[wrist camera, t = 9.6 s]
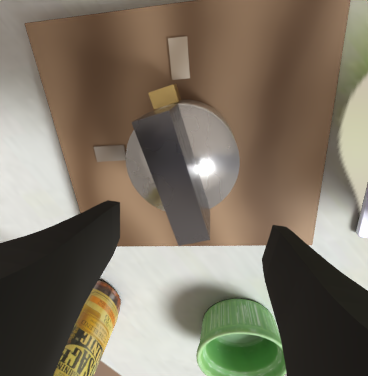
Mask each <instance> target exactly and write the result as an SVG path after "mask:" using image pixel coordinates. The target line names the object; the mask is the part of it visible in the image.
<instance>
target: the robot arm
mask: <svg viewBox="0 0 368 376" xmlns="http://www.w3.org/2000/svg"><path fill="white" fill-rule="evenodd" d="M356 233H357V235H358V236H359V237H362V238H368V184H367V188H366V193H365V196H364V201H363V205H362V209H361V213H360V217H359V221H358V226H357V230H356ZM119 239H120V202H116V201H109V200H107V201H105V202H102V203H100V204H98V205H96V206H94V207H92V208H90V209H88V210H86V211H84V212H82V213H80V214H78V215H76V216H74V217H72V218H70V219H68V220H65V221H63V222H61V223H59V224H56V225H54V226H52V227H49V228H47V229H44V230H41V231H39V232H36V233H33V234H30V235H27V236H24V237H21V238H17V239H13V240H10V241H6V242H3V243H0V376H53V375H54V373H55V370H56V368H57V366H58V363H59V361H60V358H61V356H62V353H63V351H64V349H65V346H66V344H67V342H68V339H69V337H70V335H71V333H72V330H73V328H74V326H75V324H76V321H77V319H78V317H79V315H80V313H81V311H82V308H83V306H84V304H85V302H86V300H87V299H88V297H89V295H90V293H91V291H92V290H93V288H94V286H95V285H96V283H97V281H98V280H99V278H100V276H101V275H102V273H103V271H104V270H105V268H106V266H107V264H108V263H109V261H110V259H111V258H112V256H113V254H114V251H115V249H116V247H117V244H118V242H119ZM262 264H263V272H264V278H265V283H266V286H267V290H268V294H269V297H270V301H271V304H272V308H273V311H274V315H275V318H276V322H277V325H278V329H279V334H280V338H281V343H282V349H283V355H284V360H285V367H286V373H287V376H368V291H367V290H366V289H364V288H363V287H361V286H360V285H358V284H357V283H356V282H354V281H353V280H351V279H350V278H348V277H347V276H346V275H344V274H343V273H341V272H340V271H339V270H338V269H336V268H335V267H334V266H332V265H331V264H330V263H329V262H327V261H326V260H325V259H324V258H323V257H321V256H320V255H319V254H318V253H317V252H315V251H314V250H313V249H312V248H311V247H310V246H309V245H307V244H306V243H305V242H304V241H303V240H302V239H301V238H299V237H298V236H297V235H296V234H295V233H294V232H292V231H291V230H290V229H289V228H287V227H285V226H278V225H273V226H272V229H271V232H270V236H269V239H268V242H267V245H266V248H265V252H264V255H263V258H262Z"/></svg>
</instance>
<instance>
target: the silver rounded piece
mask: <svg viewBox="0 0 368 376" xmlns="http://www.w3.org/2000/svg"><path fill="white" fill-rule="evenodd" d="M148 94H149V97H150V100H151V103H152V106H153V109H157V108H159V109H157V110H155V111H152V112H149V113H147V114H145V115H143V116H141V117H140V118H138V119H136V120H134V121H133V122H131V123H132V125H133V128H134V130H133V132H132V134H131V136H130V138H129V141H128V144H127V149H126V167H127V172H128V175H129V178H130V180H131V182H132V184H133V186H134V187H135V189H136V190H137V192H138V193H139V194H140V195H141V196H142V197H143V198H144V199H145V200H146V201H147V202H149V203H150V204H151V205H153V206H155V207H156V208H158V209H161V210H163V211H165V212H166V214H167V217H168V220H169V222H170V225H171V227H172V230H173V233H174V235H175V238H176V241H177V243H178V246H181V245H186V244H191V243H197V242H202V241H207V240H210V209H211V208H212V207H214V206H216V205H217V204H219V203H220V202H221V201H222V200H223V199H224V198H225V197H226V196H227V195H228V194H229V193H230V191H231V190H232V188H233V186H234V184H235V182H236V180H237V176H238V173H239V166H240V158H239V151H238V147H237V144H236V141H235V138H234V136H233V133H232V131H231V128H230V126H229V124H228V123H227V121H226V120H225V118H224V117H223V116H222V115H221V114H220V113H219V112H218V111H217V110H216V109H214V108H213V107H211V106H209V105H207V104H205V103H202V102H199V101H195V100H181V98H180V95H179V92H178V88H177V85H176V84H173V85H170V86H167V87H164V88H161V89H158V90H155V91H152V92H149V93H148Z"/></svg>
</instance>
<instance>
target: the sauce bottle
mask: <svg viewBox="0 0 368 376" xmlns="http://www.w3.org/2000/svg"><path fill="white" fill-rule="evenodd" d="M120 304H121V300H120V298H119V295H118V294H117V292H116V291H115V290H114V289H113V288H112V287H110V286H109V284H107V283H106V282H103V281H97V283H96V285H95V286H94V288H93V290H92V291H91V293H90V295H89V297H88V299H87V300H86V302H85V304H84V306H83V308H82V311H81V313H80V315H79V317H78V319H77V321H76V324H75V326H74V328H73V330H72V333H71V335H70V337H69V339H68V342H67V344H66V346H65V349H64V351H63V353H62V356H61V358H60V361H59V363H58V366H57V368H56V370H55V373H54V375H53V376H94V373H95V371H96V369H97V366H98V364H99V362H100V360H101V357H102V355H103V352H104V350H105V347H106V345H107V343H108V340H109V338H110V335H111V333H112V331H113V328H114V326H115V323H116V321H117V318H118V313H119V310H120Z"/></svg>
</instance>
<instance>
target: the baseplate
mask: <svg viewBox="0 0 368 376" xmlns="http://www.w3.org/2000/svg"><path fill="white" fill-rule="evenodd" d="M349 6H350V0H195V1H188V2H180V3H173V4H165V5H158V6H150V7H143V8H135V9H128V10H121V11H113V12H106V13H98V14H91V15H83V16H76V17H68V18H61V19H53V20H46V21H39V22H31V23H24V24H25V27H26V30H27V34H28V37H29V40H30V44H31V47H32V51H33V54H34V57H35V61H36V64H37V67H38V71H39V74H40V78H41V81H42V84H43V88H44V91H45V94H46V98H47V101H48V105H49V108H50V111H51V115H52V118H53V121H54V125H55V128H56V132H57V135H58V138H59V142H60V145H61V148H62V152H63V155H64V159H65V162H66V165H67V169H68V172H69V175H70V179H71V182H72V186H73V189H74V192H75V196H76V199H77V202H78V206H79V209H80V213H82V212H84V211H86V210H88V209H90V208H92V207H94V206H96V205H98V204H100V203H102V202H105V201H107V200H109V201H116V202H120V239H119V242H118V244H117V246H178V243H177V241H176V238H175V235H174V233H173V230H172V227H171V225H170V222H169V220H168V217H167V214H166V212H165V211H163V210H161V209H158V208H156V207H155V206H153V205H151V204H150V203H149V202H147V201H146V200H145V199H144V198H143V197H142V196H141V195H140V194H139V193H138V192H137V190H136V189H135V187H134V186H133V184H132V182H131V180H130V178H129V175H128V172H127V167H126V149H127V144H128V141H129V138H130V136H131V134H132V132H133V130H134V128H133V125H132V123H131V122H133V121H134V120H136V119H138V118H140V117H141V116H143V115H145V114H147V113H149V112H152V111H155V110H157V109H159V108H157V109H153V106H152V103H151V100H150V97H149V94H148V93H149V92H152V91H155V90H158V89H161V88H164V87H167V86H170V85H173V84H176V85H177V88H178V92H179V95H180V98H181V100H195V101H199V102H202V103H205V104H207V105H209V106H211V107H213V108H214V109H216V110H217V111H218V112H219V113H220V114H221V115H222V116H223V117H224V118H225V120H226V121H227V123H228V124H229V126H230V128H231V131H232V133H233V136H234V138H235V141H236V144H237V147H238V151H239V158H240V166H239V173H238V176H237V180H236V182H235V184H234V186H233V188H232V190H231V191H230V193H229V194H228V195H227V196H226V197H225V198H224V199H223V200H222V201H221V202H220V203H219V204H217V205H216V206H214V207H212V208H211V209H210V240H207V241H202V242H197V243H191V244H186V245H181V246H237V245H267V242H268V239H269V236H270V232H271V229H272V226H273V225H278V226H285V227H287V228H289V229H290V230H291V231H292V232H294V233H295V234H296V235H297V236H298V237H299V238H301V239H302V240H303V241H304V242H305V243H306V244H307V245H312V243H313V236H314V230H315V223H316V217H317V211H318V204H319V198H320V191H321V185H322V179H323V172H324V166H325V159H326V153H327V147H328V140H329V134H330V127H331V121H332V115H333V108H334V102H335V95H336V89H337V83H338V76H339V70H340V64H341V57H342V51H343V44H344V38H345V32H346V25H347V19H348V12H349Z"/></svg>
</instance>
